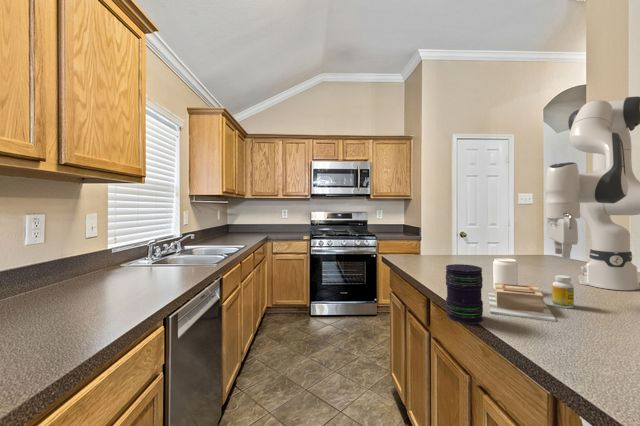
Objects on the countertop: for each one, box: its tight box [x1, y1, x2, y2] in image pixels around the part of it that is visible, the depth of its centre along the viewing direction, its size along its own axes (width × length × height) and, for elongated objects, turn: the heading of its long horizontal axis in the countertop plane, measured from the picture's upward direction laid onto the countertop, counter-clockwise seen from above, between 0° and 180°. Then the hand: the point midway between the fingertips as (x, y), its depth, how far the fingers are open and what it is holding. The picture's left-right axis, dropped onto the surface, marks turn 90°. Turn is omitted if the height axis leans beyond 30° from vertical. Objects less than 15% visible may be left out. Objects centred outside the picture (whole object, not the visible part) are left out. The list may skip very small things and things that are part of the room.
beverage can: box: [492, 257, 519, 290], centre depth 116 cm, size 8×8×12 cm
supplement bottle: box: [552, 274, 575, 309], centre depth 98 cm, size 5×5×10 cm
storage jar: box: [445, 263, 484, 325], centre depth 89 cm, size 10×10×15 cm
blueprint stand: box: [487, 283, 556, 322], centre depth 98 cm, size 22×16×6 cm
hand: (562, 255), depth 97 cm, fingers open, 8 cm apart
